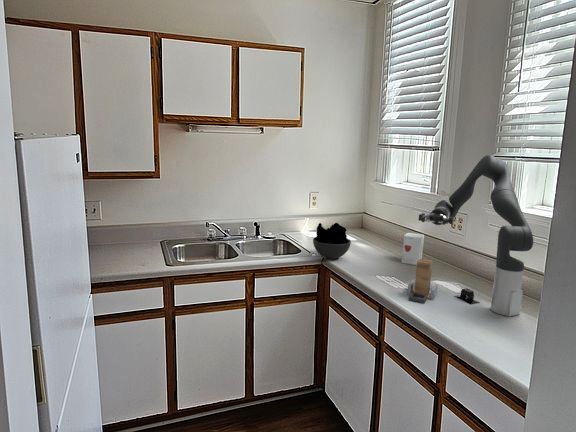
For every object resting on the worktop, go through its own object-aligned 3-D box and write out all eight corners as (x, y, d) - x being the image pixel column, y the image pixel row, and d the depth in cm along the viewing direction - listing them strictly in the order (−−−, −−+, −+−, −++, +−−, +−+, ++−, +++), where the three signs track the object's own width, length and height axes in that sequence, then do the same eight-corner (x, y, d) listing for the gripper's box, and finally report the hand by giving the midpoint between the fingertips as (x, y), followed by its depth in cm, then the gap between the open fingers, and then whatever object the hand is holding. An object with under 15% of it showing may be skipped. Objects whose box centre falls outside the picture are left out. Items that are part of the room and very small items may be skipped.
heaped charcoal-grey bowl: (355, 257, 229) (357, 223, 226) (340, 266, 212) (342, 229, 209) (322, 251, 239) (323, 218, 236) (305, 259, 222) (307, 224, 219)
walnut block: (417, 290, 180) (420, 258, 177) (429, 292, 177) (432, 260, 175) (414, 294, 175) (417, 261, 173) (426, 296, 173) (429, 263, 170)
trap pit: (412, 295, 175) (412, 292, 174) (427, 298, 172) (427, 295, 172) (408, 300, 170) (409, 296, 169) (424, 303, 167) (424, 300, 166)
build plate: (485, 305, 169) (486, 294, 168) (471, 307, 166) (472, 296, 165) (461, 294, 180) (462, 284, 179) (448, 296, 177) (449, 285, 177)
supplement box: (400, 262, 222) (403, 235, 219) (404, 258, 230) (407, 232, 227) (418, 265, 218) (421, 237, 215) (421, 261, 225) (424, 234, 223)
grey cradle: (412, 288, 184) (413, 279, 183) (437, 293, 179) (438, 284, 178) (407, 294, 176) (408, 285, 175) (433, 299, 171) (434, 290, 171)
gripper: (424, 205, 197) (416, 210, 183) (457, 209, 190) (451, 214, 176) (423, 221, 198) (415, 227, 184) (455, 225, 191) (449, 231, 177)
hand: (433, 221), depth 180 cm, fingers open, 8 cm apart
